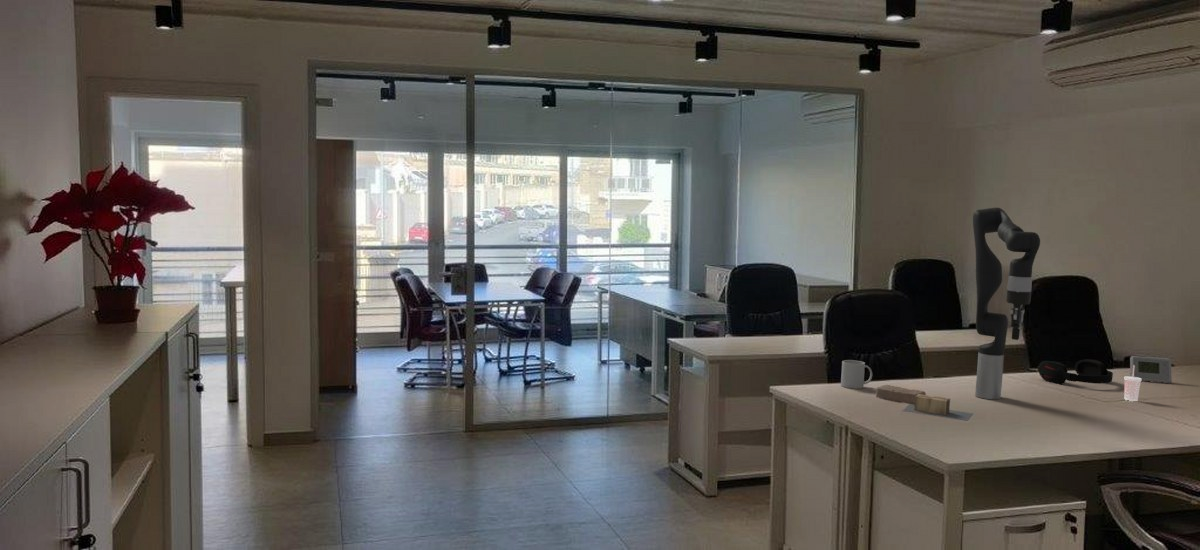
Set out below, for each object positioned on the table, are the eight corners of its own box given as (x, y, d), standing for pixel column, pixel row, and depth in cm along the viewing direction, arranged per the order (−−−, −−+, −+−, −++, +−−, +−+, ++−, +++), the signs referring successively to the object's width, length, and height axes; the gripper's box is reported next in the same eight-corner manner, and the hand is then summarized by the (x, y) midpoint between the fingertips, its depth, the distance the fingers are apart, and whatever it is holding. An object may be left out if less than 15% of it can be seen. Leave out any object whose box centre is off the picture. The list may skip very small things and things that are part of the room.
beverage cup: (1128, 401, 347) (1131, 366, 346) (1118, 398, 353) (1121, 363, 352) (1143, 402, 347) (1146, 367, 346) (1133, 398, 353) (1136, 364, 352)
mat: (909, 405, 328) (909, 404, 328) (973, 414, 317) (973, 413, 317) (901, 411, 317) (901, 410, 317) (967, 421, 306) (967, 420, 306)
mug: (837, 386, 358) (838, 361, 357) (847, 382, 365) (848, 358, 364) (862, 390, 351) (863, 365, 350) (872, 387, 358) (874, 362, 357)
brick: (874, 397, 340) (875, 385, 340) (885, 394, 346) (886, 383, 345) (915, 406, 328) (915, 394, 327) (925, 403, 334) (926, 391, 333)
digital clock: (1128, 380, 391) (1130, 356, 390) (1127, 377, 399) (1129, 354, 398) (1172, 385, 383) (1174, 361, 382) (1170, 381, 391) (1172, 358, 390)
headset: (1053, 372, 405) (1054, 353, 404) (1121, 383, 385) (1122, 362, 385) (1031, 381, 383) (1032, 360, 383) (1101, 392, 364) (1103, 370, 364)
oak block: (949, 412, 317) (917, 407, 323) (950, 398, 317) (918, 394, 322) (946, 415, 313) (914, 410, 318) (947, 401, 312) (915, 396, 318)
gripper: (1009, 287, 312) (1005, 335, 313) (1004, 290, 300) (1000, 340, 302) (1033, 289, 308) (1029, 338, 309) (1029, 292, 296) (1025, 343, 298)
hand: (1015, 339), depth 306 cm, fingers closed
